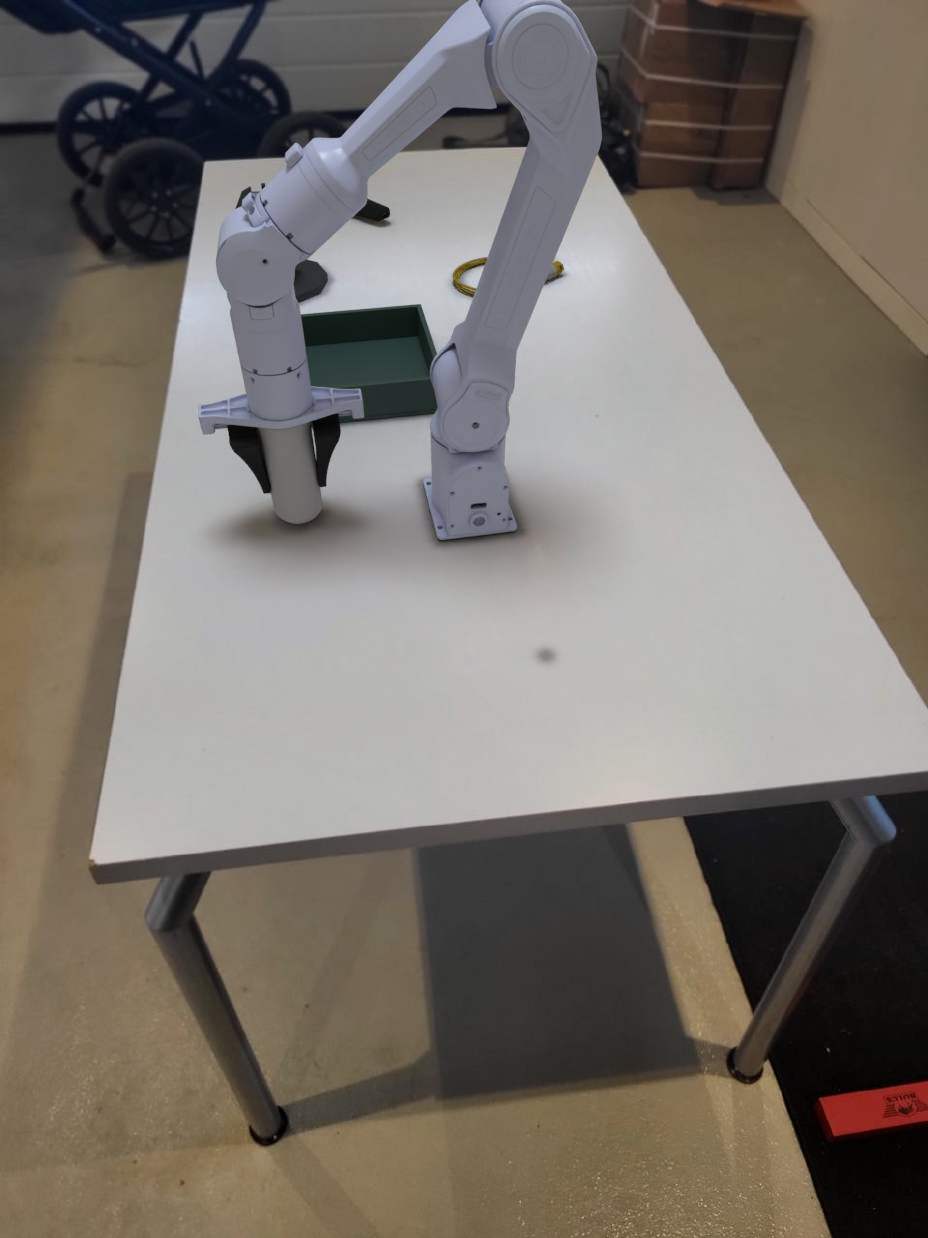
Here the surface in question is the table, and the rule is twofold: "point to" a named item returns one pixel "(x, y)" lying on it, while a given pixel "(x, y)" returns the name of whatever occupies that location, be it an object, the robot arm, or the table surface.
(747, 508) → the table surface
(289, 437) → the beverage can
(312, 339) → the open storage bin
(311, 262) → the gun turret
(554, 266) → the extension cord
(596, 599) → the table surface
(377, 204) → the electric trimmer
